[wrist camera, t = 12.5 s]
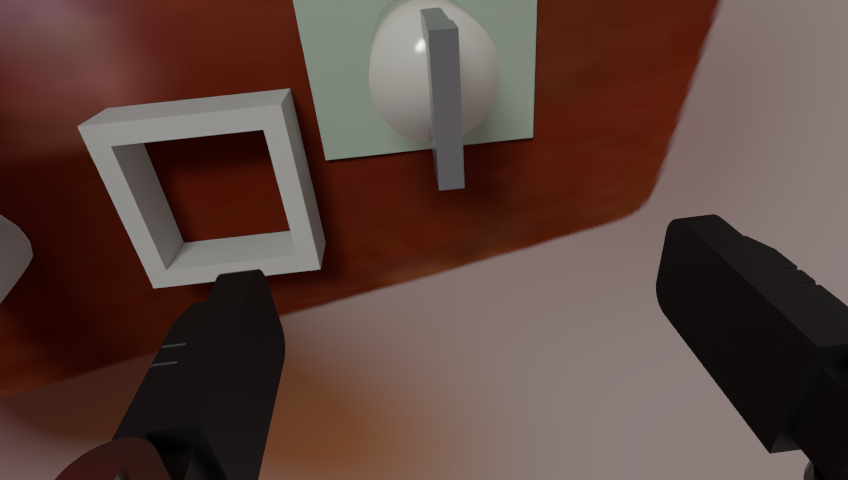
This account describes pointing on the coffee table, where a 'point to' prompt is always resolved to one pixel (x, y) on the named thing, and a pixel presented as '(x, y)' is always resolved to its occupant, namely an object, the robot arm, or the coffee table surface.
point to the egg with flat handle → (433, 77)
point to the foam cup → (12, 255)
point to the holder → (148, 208)
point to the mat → (350, 60)
